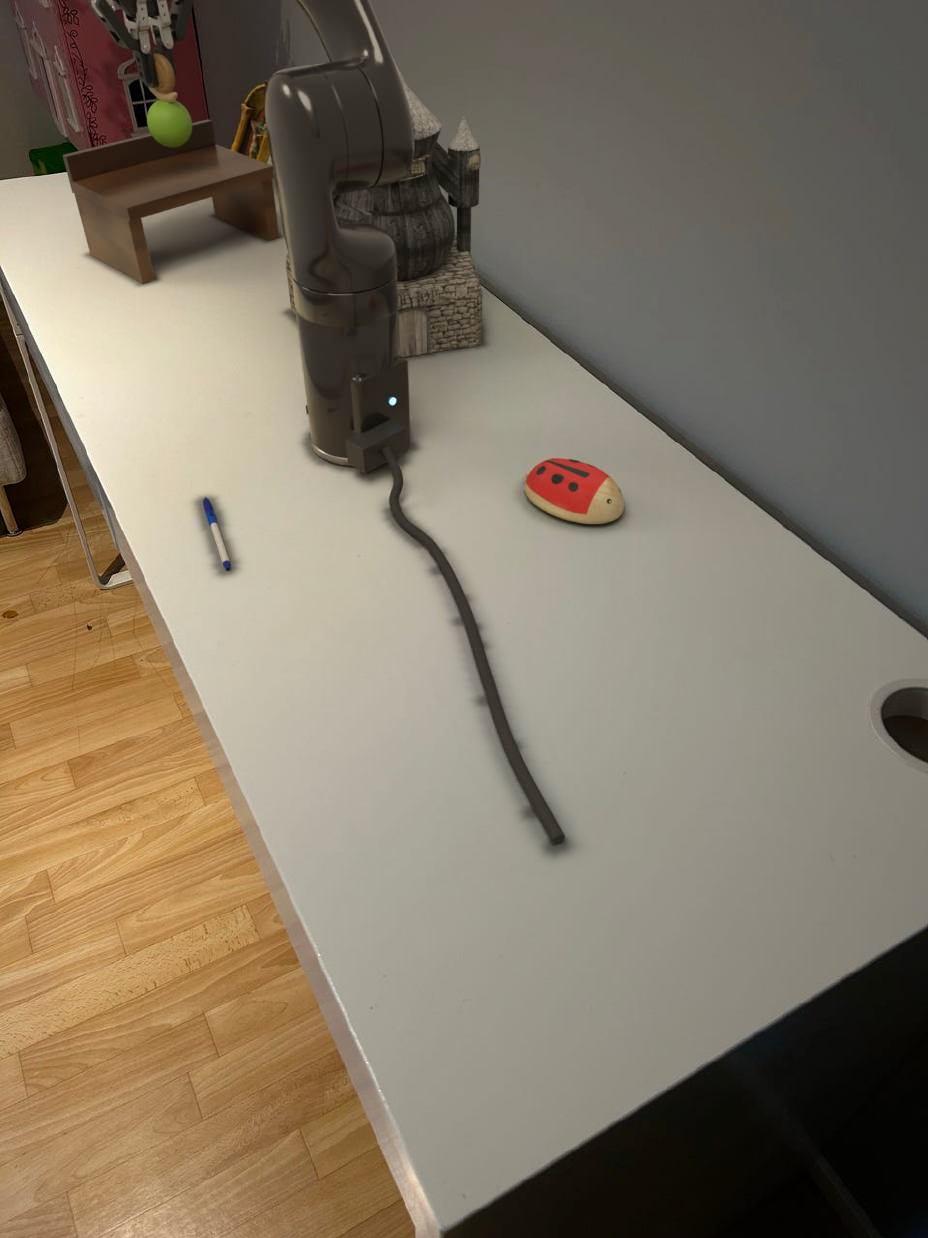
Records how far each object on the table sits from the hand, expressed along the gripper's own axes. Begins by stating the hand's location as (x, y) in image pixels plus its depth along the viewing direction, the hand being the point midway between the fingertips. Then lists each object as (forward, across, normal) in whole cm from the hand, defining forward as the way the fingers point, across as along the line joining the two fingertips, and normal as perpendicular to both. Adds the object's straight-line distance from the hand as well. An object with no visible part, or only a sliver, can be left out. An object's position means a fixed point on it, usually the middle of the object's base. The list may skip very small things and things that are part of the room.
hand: (159, 84), depth 115 cm
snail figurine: (+7, 0, 0) cm, 7 cm away
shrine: (+20, +20, +13) cm, 31 cm away
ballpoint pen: (+21, -35, -55) cm, 69 cm away
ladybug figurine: (+21, -9, -75) cm, 78 cm away
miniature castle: (+20, +4, -37) cm, 42 cm away
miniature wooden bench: (+20, 0, +1) cm, 20 cm away
